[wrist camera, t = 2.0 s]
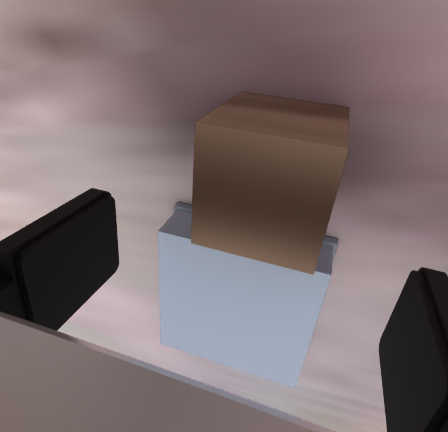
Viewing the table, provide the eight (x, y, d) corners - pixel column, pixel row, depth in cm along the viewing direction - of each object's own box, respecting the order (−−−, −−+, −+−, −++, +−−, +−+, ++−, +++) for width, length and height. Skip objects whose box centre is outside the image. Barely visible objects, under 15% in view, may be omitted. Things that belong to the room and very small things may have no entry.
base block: (177, 202, 21) (154, 226, 18) (338, 238, 18) (336, 273, 16) (176, 312, 25) (157, 344, 23) (303, 351, 23) (297, 391, 21)
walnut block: (241, 91, 16) (195, 121, 11) (348, 107, 15) (349, 148, 10) (232, 185, 19) (190, 243, 14) (323, 204, 18) (313, 275, 13)
